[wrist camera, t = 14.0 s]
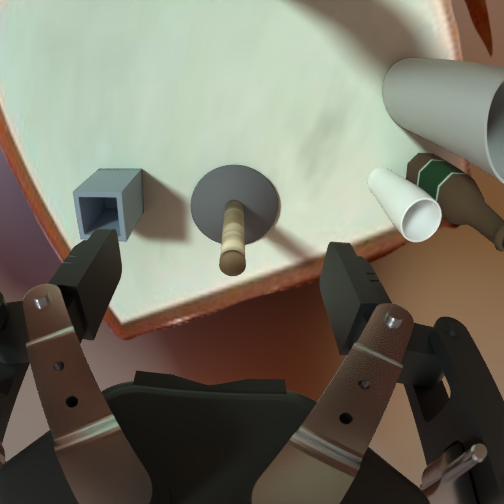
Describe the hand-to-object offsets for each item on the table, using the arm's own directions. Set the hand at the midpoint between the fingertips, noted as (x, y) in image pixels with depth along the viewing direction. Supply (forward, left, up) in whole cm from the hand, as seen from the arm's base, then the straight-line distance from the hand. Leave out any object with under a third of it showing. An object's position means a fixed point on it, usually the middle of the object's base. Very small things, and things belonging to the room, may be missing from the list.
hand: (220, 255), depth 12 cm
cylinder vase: (-8, +28, -38) cm, 48 cm away
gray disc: (+15, +1, -38) cm, 41 cm away
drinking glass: (+8, +25, -38) cm, 46 cm away
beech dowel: (+15, +1, -37) cm, 40 cm away
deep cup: (+13, -18, -38) cm, 44 cm away
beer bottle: (+5, +33, -38) cm, 51 cm away
